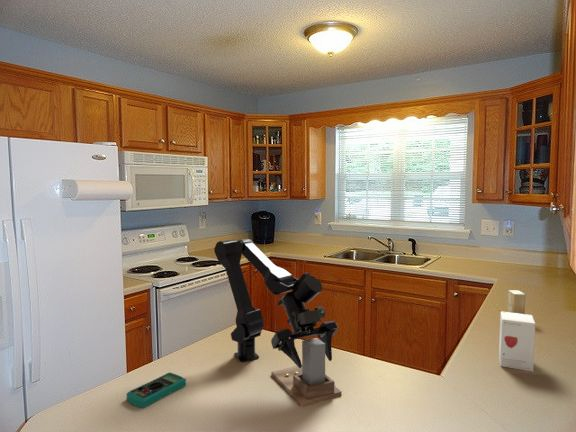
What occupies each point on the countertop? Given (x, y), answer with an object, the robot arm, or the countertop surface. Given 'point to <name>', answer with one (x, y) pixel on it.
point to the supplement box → (517, 341)
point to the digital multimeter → (155, 390)
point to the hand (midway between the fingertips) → (316, 363)
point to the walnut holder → (305, 386)
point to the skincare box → (516, 302)
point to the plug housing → (313, 361)
